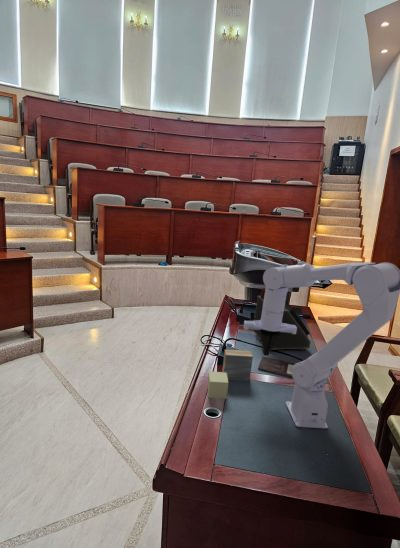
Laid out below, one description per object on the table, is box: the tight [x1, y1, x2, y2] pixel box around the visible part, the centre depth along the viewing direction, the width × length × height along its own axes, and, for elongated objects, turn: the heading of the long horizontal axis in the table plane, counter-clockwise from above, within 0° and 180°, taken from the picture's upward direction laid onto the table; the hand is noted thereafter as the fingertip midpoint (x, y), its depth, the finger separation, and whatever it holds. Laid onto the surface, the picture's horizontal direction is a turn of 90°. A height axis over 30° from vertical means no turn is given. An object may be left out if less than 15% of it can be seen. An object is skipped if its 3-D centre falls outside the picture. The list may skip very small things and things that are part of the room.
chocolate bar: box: [257, 355, 296, 379], centre depth 107 cm, size 9×1×18 cm
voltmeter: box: [252, 287, 312, 351], centre depth 125 cm, size 16×16×20 cm
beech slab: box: [222, 349, 254, 382], centre depth 99 cm, size 4×8×8 cm, turn 92°
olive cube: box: [206, 371, 229, 400], centre depth 90 cm, size 5×5×5 cm
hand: (265, 353), depth 94 cm, fingers closed
